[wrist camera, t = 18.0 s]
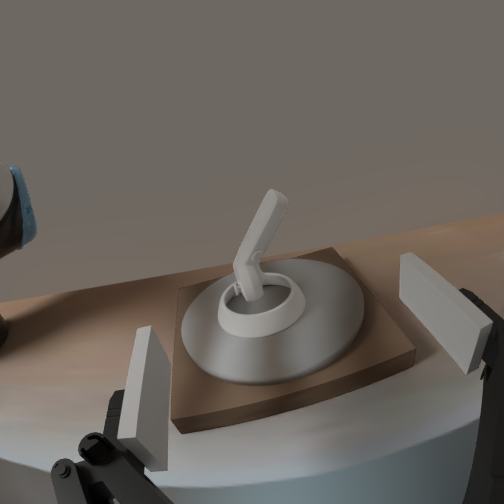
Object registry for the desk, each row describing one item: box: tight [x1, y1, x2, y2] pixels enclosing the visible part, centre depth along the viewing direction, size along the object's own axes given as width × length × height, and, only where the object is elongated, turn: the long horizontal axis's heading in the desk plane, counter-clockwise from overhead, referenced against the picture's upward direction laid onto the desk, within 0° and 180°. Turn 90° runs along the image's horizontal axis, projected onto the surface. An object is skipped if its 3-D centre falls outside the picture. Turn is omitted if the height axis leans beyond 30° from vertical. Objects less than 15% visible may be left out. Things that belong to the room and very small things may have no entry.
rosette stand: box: [171, 247, 416, 434], centre depth 28 cm, size 18×18×3 cm
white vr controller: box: [218, 189, 306, 338], centre depth 26 cm, size 8×12×7 cm
